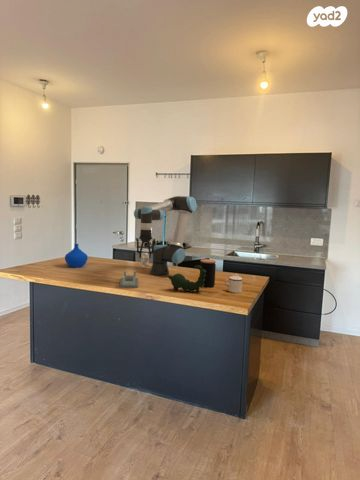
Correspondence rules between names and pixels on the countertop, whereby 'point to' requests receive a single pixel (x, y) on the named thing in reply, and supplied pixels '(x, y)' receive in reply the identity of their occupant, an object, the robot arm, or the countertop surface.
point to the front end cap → (128, 281)
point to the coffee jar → (209, 272)
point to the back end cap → (129, 275)
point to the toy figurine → (185, 284)
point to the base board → (129, 285)
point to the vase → (76, 257)
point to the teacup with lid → (234, 284)
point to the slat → (145, 260)
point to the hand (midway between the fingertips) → (144, 262)
